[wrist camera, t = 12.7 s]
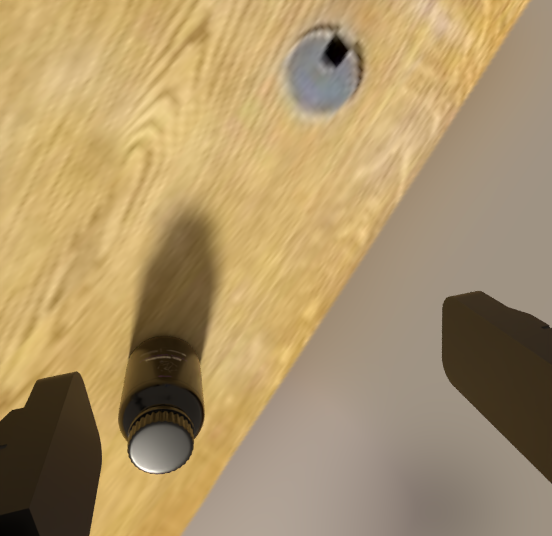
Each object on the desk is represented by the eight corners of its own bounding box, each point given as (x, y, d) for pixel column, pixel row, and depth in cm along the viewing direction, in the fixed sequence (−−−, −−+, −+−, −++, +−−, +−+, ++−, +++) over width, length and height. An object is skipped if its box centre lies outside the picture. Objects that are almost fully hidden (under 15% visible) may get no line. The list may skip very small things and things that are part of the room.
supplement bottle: (173, 319, 45) (175, 391, 34) (212, 371, 48) (227, 452, 37) (110, 359, 45) (93, 444, 34) (154, 408, 48) (150, 501, 37)
